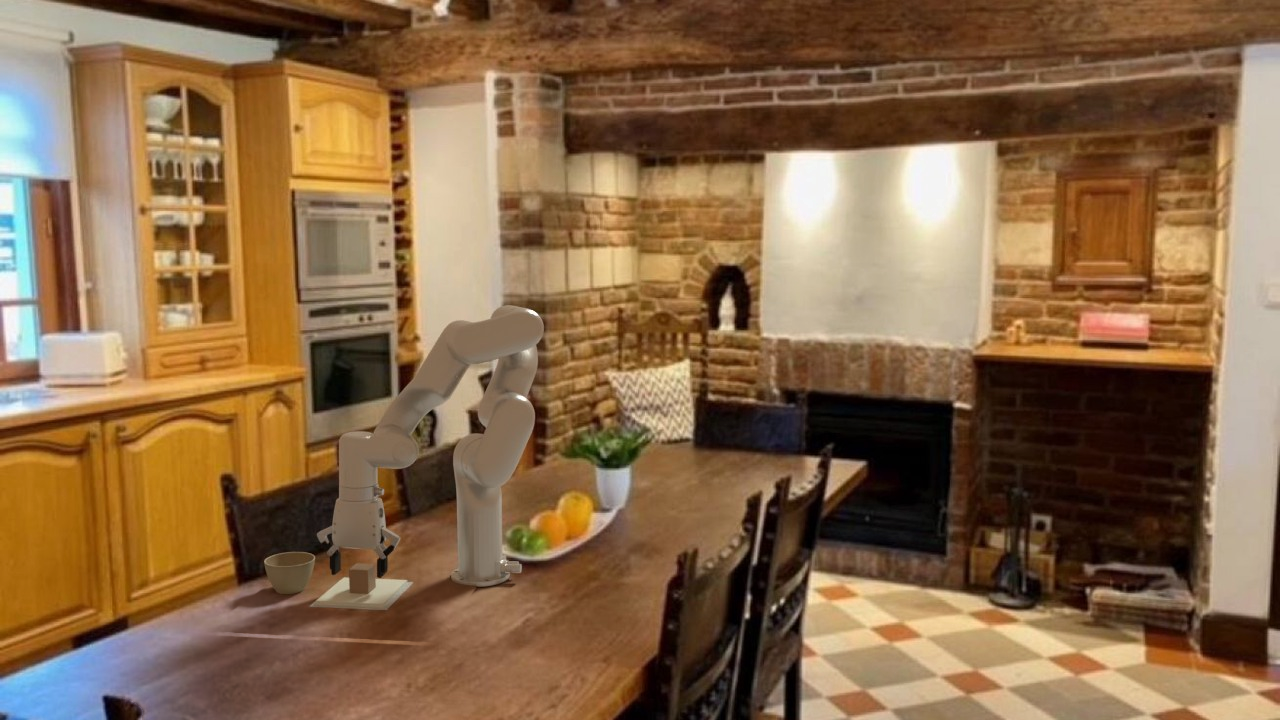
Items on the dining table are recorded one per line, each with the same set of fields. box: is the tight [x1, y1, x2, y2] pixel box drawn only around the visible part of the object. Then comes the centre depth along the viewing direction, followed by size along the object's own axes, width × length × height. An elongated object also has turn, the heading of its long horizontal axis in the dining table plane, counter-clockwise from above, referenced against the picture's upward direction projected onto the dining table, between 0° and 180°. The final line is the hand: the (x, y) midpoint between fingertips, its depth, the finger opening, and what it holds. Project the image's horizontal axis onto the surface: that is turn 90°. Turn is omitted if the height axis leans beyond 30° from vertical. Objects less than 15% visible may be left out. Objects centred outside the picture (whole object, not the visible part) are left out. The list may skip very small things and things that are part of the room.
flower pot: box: [263, 551, 316, 595], centre depth 211 cm, size 10×10×7 cm
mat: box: [308, 581, 414, 611], centre depth 209 cm, size 16×16×1 cm
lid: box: [315, 562, 408, 608], centre depth 208 cm, size 14×14×6 cm
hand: (358, 574), depth 208 cm, fingers open, 9 cm apart
